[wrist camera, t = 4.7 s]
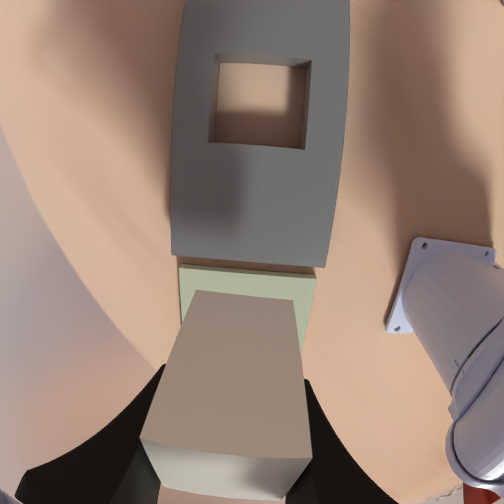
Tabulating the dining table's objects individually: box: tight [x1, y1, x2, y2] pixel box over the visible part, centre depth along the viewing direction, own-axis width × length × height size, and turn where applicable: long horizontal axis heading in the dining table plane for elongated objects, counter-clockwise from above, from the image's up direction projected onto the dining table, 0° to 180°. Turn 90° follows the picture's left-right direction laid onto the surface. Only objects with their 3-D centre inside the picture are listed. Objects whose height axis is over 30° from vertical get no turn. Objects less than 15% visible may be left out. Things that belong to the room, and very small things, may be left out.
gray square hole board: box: [170, 0, 350, 268], centre depth 14 cm, size 9×18×2 cm, turn 176°
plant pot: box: [463, 482, 501, 504], centre depth 24 cm, size 19×19×17 cm
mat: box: [179, 264, 317, 353], centre depth 20 cm, size 9×9×1 cm
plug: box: [140, 289, 312, 500], centre depth 9 cm, size 4×4×7 cm
